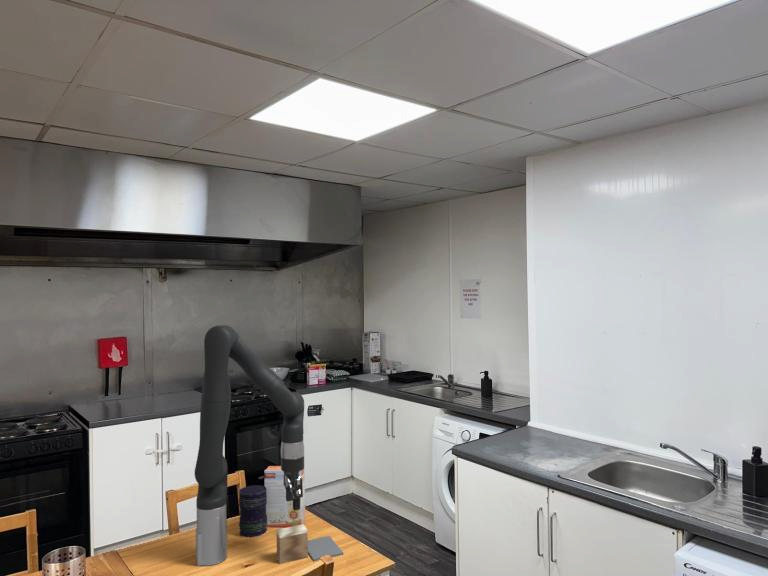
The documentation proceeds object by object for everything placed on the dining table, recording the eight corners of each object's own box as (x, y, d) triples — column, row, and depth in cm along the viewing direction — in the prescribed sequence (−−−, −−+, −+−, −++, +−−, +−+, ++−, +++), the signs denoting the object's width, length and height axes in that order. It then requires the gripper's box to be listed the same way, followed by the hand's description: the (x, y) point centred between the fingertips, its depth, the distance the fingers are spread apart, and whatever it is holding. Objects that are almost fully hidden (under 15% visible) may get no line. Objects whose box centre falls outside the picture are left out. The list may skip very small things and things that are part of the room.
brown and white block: (280, 564, 163) (279, 535, 164) (276, 558, 168) (276, 529, 168) (307, 557, 167) (307, 529, 168) (303, 552, 171) (303, 524, 172)
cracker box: (305, 521, 196) (305, 465, 197) (301, 528, 190) (300, 470, 191) (269, 520, 197) (269, 464, 198) (264, 527, 191) (263, 469, 192)
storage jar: (239, 527, 191) (238, 486, 192) (266, 524, 194) (266, 483, 194) (239, 539, 182) (238, 496, 182) (267, 535, 184) (267, 492, 185)
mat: (313, 561, 165) (313, 559, 165) (301, 543, 177) (301, 541, 177) (343, 554, 169) (343, 552, 169) (329, 537, 182) (329, 535, 182)
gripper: (275, 451, 174) (276, 500, 174) (287, 462, 162) (287, 515, 161) (297, 448, 178) (297, 496, 177) (310, 458, 165) (310, 510, 164)
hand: (292, 505), depth 169 cm, fingers open, 8 cm apart
